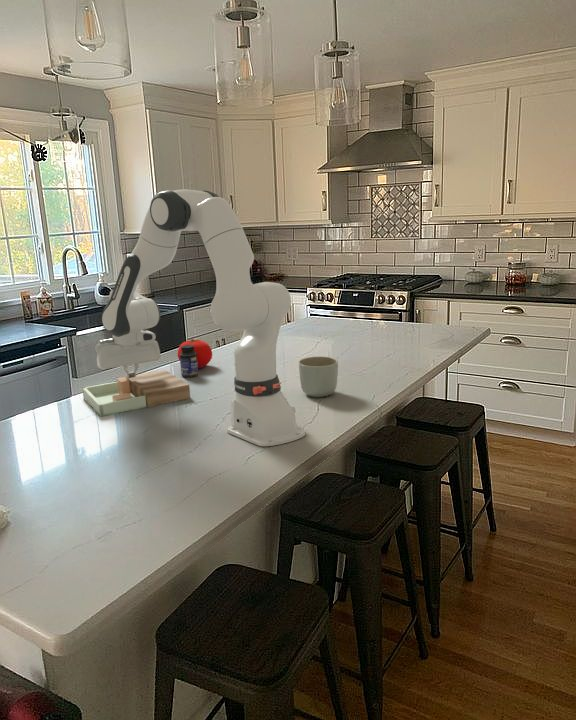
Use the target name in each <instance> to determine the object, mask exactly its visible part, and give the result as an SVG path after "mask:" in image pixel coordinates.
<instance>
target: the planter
mask: <svg viewBox="0 0 576 720" xmlns="http://www.w3.org/2000/svg"><path fill="white" fill-rule="evenodd" d="M298 372H299V373H298V374H299V380H300V386H301V387H300V388H301V389H302V391H303V392H304V394H306V395H307V396H309V397H311V396H312V398H323V397H324V396H326V397H329V396H330V395H332V394H333V393H334V392H335V391H336V389H337V385H338V374H339V360H338V359H337V358H335V357H331V356H310V357H305V358H302V359H300V360H299V361H298ZM328 395H329V396H328Z"/></svg>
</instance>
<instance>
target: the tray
mask: <svg viewBox="0 0 576 720" xmlns="http://www.w3.org/2000/svg"><path fill="white" fill-rule="evenodd" d="M81 389H82V395H83V397H82V398H83V399H84V400H85V402H87V403H88V404H89V405H91V406H92V407H93V408H92V407H91V406H90V407H91V408H92V409H93V410H94V412H96V413H97V414H98V416H99V417H105V415H106V416H111V415H114V414H115V415H116V414H120V413H119V412H121V413H125V412H130V411H134V410H139V409H144V408H147V406H146V398H145V396H140V397H135V396H134V395H133V394H132V393H131V392H130V395H131V396H132V397H133V398H129V399H124V400H119V401H114V402H113V399H112V396H114V395H119V392H118V383H117V381H113V382H107V383H102V384H101V383H100V384H96V385H91V386H86V387H82V388H81ZM124 411H125V412H124ZM110 414H111V415H110Z"/></svg>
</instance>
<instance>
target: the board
mask: <svg viewBox="0 0 576 720" xmlns="http://www.w3.org/2000/svg"><path fill="white" fill-rule="evenodd" d="M125 378H126V377H125ZM126 379H127V378H126ZM127 380H129V387H130V393H132V394H133V395H134V396H136V397H140V396H145V398H146V407H148V408H149V407H153V406H158V405H164V404H167V403H172V402H177V401H183V400H187V399H191V390H190V384H189V383H188V382H186V381H184V380H183V379H181V378H179V377H177V376H176V375H174V374H173V373H171V372H169V371H168V370H166V369H163V370H158V371H153V372H146V373H141V374H136V377H133V378H128V379H127Z"/></svg>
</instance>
